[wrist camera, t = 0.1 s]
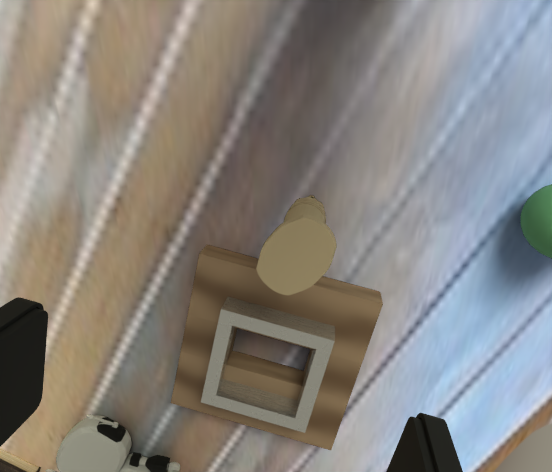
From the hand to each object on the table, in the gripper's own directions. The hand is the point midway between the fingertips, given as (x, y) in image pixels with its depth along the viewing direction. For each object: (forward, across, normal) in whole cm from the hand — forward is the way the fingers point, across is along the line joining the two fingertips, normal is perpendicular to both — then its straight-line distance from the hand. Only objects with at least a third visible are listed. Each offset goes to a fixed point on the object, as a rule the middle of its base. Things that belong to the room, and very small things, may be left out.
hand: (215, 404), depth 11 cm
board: (+37, -1, +21) cm, 42 cm away
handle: (+37, -1, +4) cm, 37 cm away
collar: (+34, -1, +21) cm, 40 cm away
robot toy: (+37, +15, +44) cm, 59 cm away
